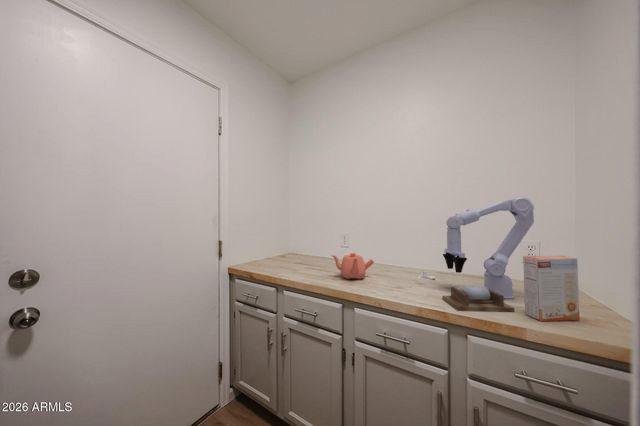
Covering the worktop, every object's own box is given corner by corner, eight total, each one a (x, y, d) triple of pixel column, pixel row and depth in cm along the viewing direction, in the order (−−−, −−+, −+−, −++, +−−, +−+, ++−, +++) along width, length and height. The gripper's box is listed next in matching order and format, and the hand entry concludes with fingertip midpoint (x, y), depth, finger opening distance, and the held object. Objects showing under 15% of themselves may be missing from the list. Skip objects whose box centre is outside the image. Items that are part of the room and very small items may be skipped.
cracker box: (561, 313, 82) (559, 255, 83) (580, 321, 76) (579, 258, 77) (523, 314, 82) (522, 255, 82) (540, 321, 76) (538, 258, 76)
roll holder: (491, 300, 96) (491, 286, 96) (514, 312, 84) (514, 296, 84) (442, 299, 97) (442, 286, 97) (457, 310, 85) (457, 295, 85)
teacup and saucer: (437, 280, 128) (437, 272, 128) (426, 281, 125) (426, 274, 125) (425, 276, 136) (425, 269, 136) (414, 277, 133) (414, 270, 133)
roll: (482, 297, 93) (482, 285, 93) (490, 302, 88) (490, 289, 88) (460, 297, 93) (460, 285, 93) (468, 302, 88) (468, 289, 88)
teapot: (356, 283, 120) (356, 257, 120) (330, 277, 133) (330, 253, 133) (375, 277, 132) (375, 253, 133) (350, 272, 145) (350, 250, 146)
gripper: (438, 240, 116) (438, 267, 116) (453, 243, 102) (453, 274, 101) (452, 240, 116) (453, 267, 115) (469, 243, 101) (470, 274, 101)
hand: (454, 270), depth 108 cm, fingers open, 7 cm apart
